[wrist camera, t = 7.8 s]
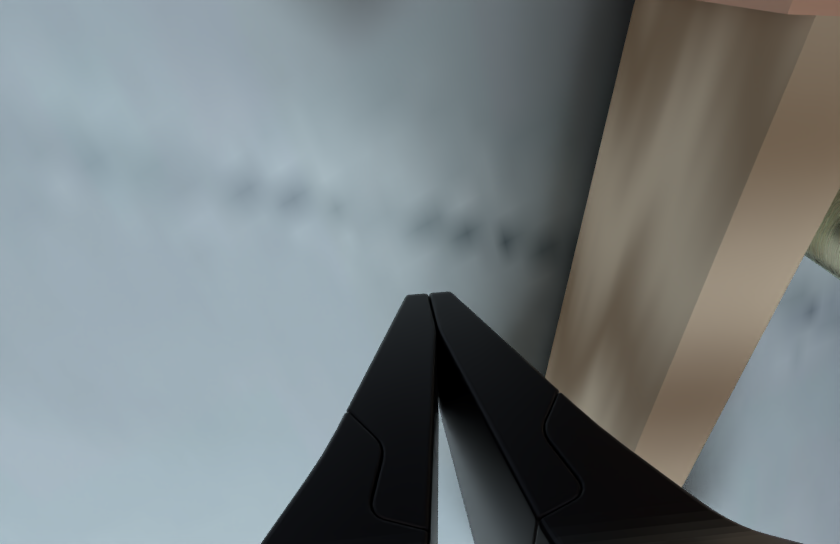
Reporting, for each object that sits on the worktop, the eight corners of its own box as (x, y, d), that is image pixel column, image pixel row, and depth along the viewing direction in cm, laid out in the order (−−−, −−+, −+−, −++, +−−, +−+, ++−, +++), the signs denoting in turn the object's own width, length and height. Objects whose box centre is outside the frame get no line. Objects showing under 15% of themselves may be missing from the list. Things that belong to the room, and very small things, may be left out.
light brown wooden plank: (579, 447, 19) (640, 589, 15) (517, 450, 19) (561, 596, 14) (764, -126, 10) (1066, -182, 6) (646, -133, 9) (870, -199, 5)
